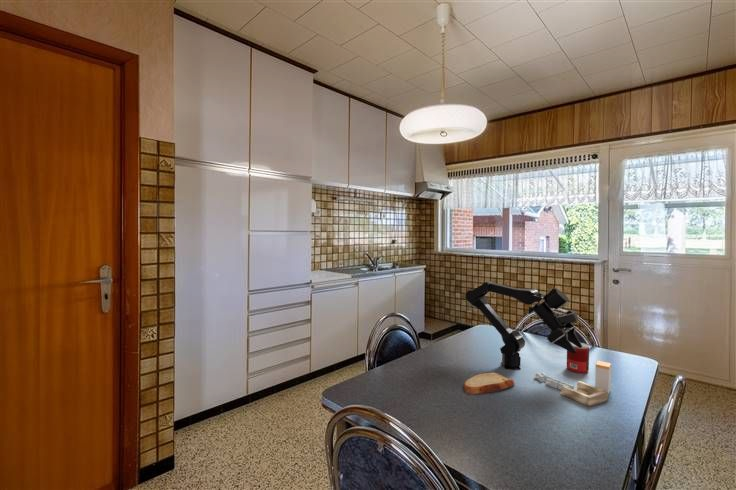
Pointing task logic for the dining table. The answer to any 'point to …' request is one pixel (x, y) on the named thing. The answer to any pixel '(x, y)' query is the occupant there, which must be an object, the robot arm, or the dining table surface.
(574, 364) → the canned food
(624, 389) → the dining table surface
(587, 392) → the holder
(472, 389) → the bread slice
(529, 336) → the dining table surface
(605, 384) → the orange-topped block
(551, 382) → the clip
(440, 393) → the dining table surface
